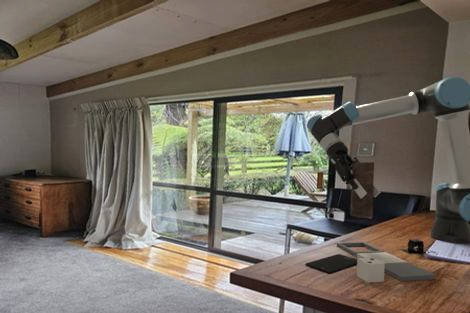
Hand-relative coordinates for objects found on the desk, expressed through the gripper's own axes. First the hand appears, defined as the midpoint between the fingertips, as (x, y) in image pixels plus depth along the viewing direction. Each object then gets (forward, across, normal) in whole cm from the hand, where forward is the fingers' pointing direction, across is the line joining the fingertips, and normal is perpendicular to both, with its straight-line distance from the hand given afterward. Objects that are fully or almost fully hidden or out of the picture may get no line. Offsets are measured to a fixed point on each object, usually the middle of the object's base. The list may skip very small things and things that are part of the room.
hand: (370, 195), depth 120 cm
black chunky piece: (+20, -17, -10) cm, 28 cm away
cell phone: (+16, +20, -13) cm, 29 cm away
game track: (+19, +4, -9) cm, 21 cm away
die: (+25, +22, -4) cm, 33 cm away
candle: (+4, 0, -9) cm, 9 cm away
